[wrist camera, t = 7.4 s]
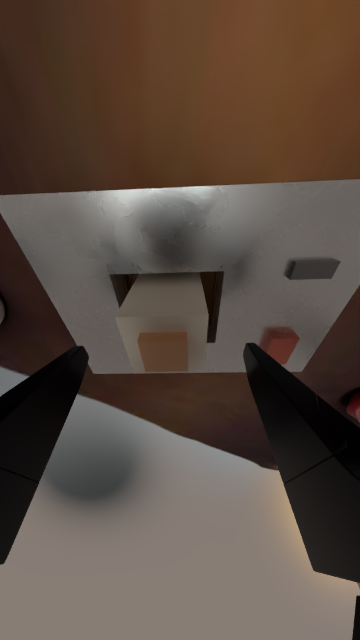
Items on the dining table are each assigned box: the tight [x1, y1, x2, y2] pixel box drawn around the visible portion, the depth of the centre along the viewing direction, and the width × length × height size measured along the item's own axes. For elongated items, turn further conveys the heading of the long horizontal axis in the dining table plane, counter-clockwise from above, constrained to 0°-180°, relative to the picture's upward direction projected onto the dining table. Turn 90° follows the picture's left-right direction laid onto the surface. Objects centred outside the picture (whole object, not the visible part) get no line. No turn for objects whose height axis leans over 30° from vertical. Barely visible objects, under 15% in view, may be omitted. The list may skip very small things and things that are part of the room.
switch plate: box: [0, 179, 360, 374], centre depth 12 cm, size 20×14×3 cm
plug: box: [115, 272, 209, 373], centre depth 11 cm, size 4×4×7 cm
